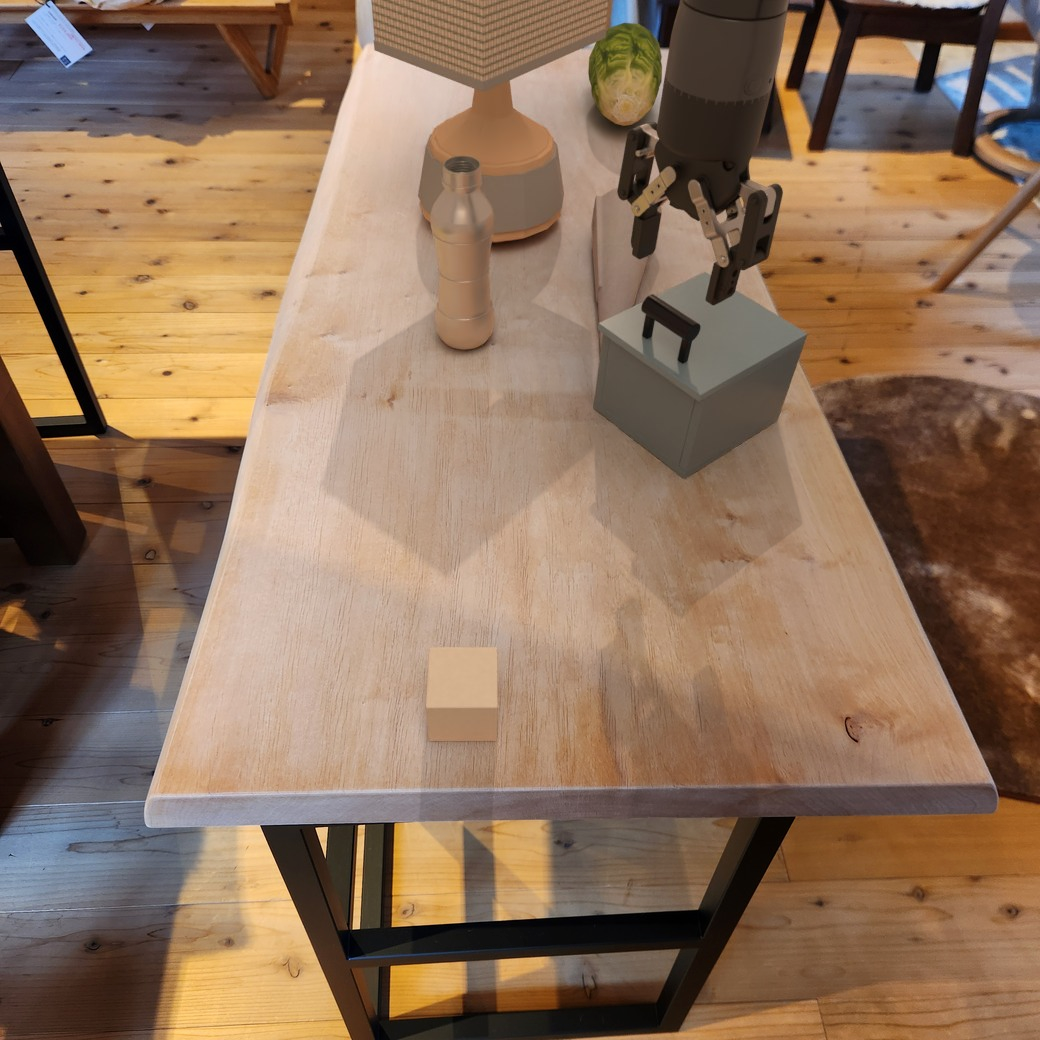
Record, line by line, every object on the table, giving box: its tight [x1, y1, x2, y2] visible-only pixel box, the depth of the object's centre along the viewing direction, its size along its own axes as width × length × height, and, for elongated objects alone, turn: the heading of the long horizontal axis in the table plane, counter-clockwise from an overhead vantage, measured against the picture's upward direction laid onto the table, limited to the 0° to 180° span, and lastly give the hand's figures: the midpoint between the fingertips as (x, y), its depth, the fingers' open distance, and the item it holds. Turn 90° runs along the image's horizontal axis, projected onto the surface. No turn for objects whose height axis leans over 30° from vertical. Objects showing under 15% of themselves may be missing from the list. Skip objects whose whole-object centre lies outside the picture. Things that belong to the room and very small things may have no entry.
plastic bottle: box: [429, 156, 496, 350], centre depth 87 cm, size 6×7×20 cm
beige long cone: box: [591, 187, 663, 350], centre depth 100 cm, size 8×9×26 cm
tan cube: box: [425, 646, 499, 742], centre depth 62 cm, size 5×5×5 cm
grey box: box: [592, 334, 806, 480], centre depth 84 cm, size 14×13×10 cm
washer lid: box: [597, 271, 809, 402], centre depth 78 cm, size 15×13×5 cm
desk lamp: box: [370, 0, 609, 243], centre depth 99 cm, size 22×19×37 cm
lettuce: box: [587, 22, 663, 127], centre depth 131 cm, size 12×21×11 cm, turn 176°
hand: (678, 277), depth 72 cm, fingers open, 8 cm apart
